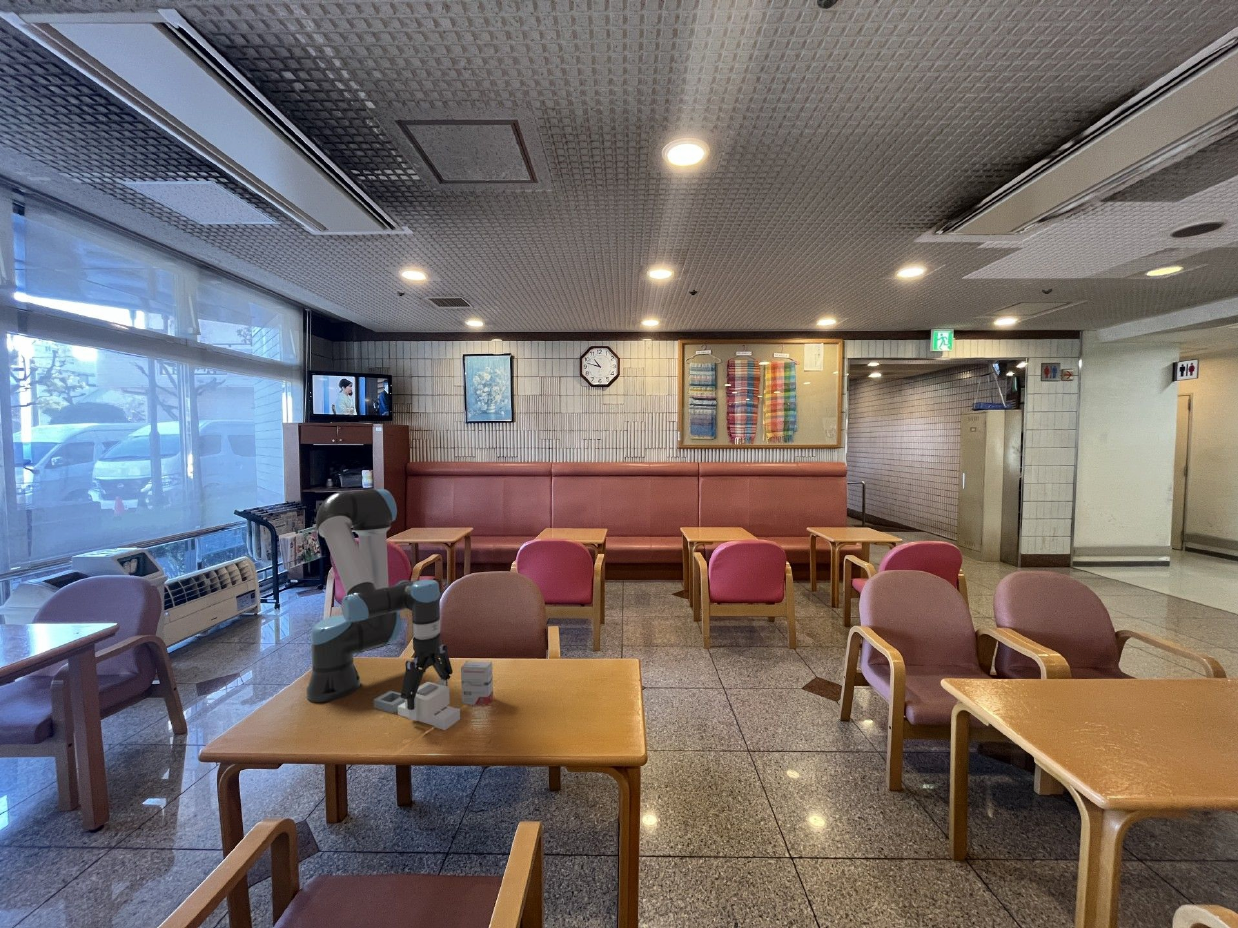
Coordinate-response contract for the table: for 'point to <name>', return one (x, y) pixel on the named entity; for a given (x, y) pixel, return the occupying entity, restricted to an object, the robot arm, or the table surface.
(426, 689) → the plug
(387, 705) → the plug rest
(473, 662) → the ink box
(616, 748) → the table surface
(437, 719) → the socket
